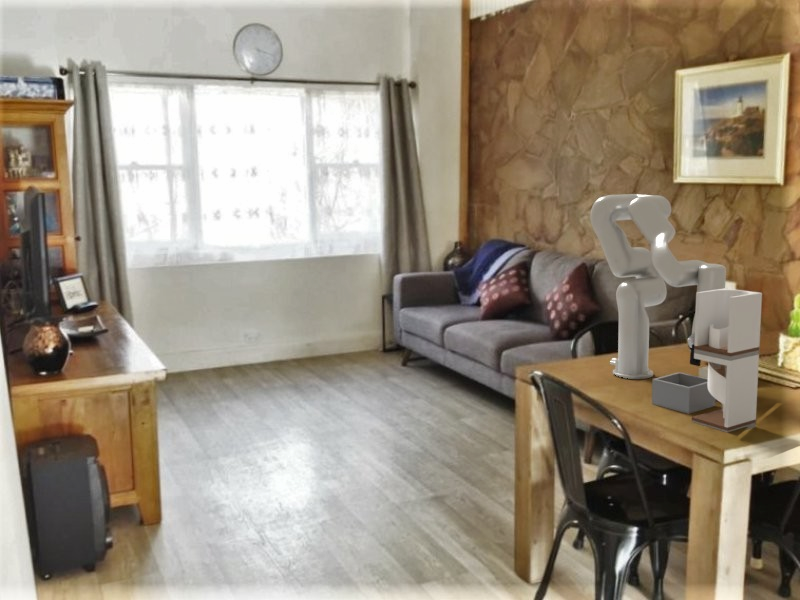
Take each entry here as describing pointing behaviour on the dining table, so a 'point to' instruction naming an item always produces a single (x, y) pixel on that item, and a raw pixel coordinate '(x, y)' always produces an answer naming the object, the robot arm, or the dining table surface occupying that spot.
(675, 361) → the dining table surface
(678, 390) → the open box
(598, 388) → the dining table surface
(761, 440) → the dining table surface
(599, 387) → the dining table surface
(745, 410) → the display case
